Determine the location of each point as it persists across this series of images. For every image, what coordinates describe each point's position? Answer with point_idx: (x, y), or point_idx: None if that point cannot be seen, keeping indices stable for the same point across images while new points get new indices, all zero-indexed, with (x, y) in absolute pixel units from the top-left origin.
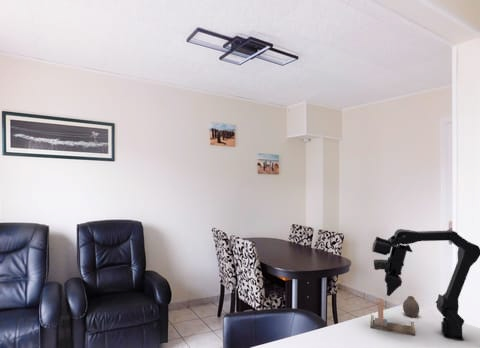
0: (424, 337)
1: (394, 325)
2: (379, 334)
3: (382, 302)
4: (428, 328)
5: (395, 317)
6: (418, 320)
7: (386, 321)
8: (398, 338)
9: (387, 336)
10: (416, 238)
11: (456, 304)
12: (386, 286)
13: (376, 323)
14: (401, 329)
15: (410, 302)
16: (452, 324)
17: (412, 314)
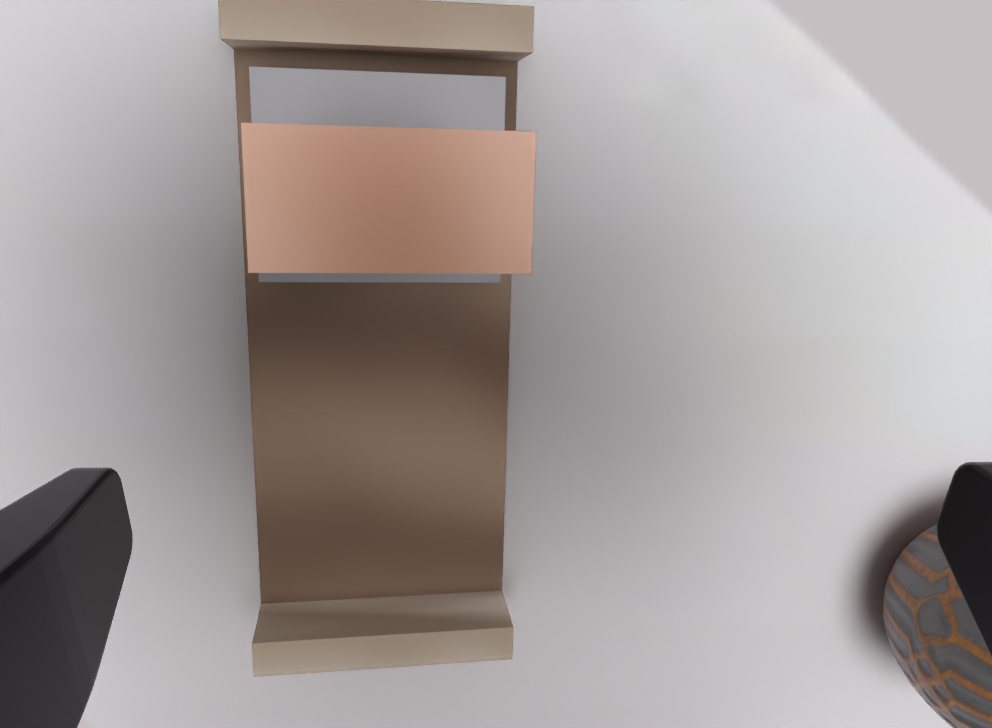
0: (273, 710)
1: (419, 380)
2: (48, 153)
3: (247, 252)
4: None
5: (810, 388)
6: (799, 654)
7: (404, 274)
8: (55, 418)
9: (39, 271)
10: None
11: None
12: (979, 468)
13: (254, 105)
14: (310, 472)
15: None
16: None
17: (887, 617)
